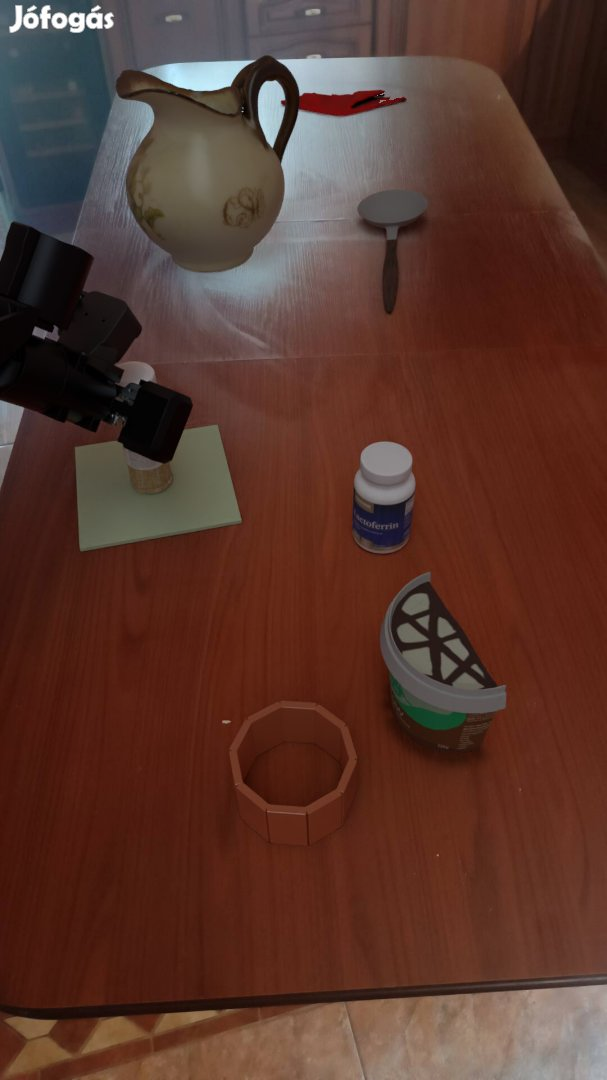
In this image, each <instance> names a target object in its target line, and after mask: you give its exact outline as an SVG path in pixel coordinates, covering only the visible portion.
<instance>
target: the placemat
mask: <svg viewBox="0 0 607 1080" xmlns="http://www.w3.org/2000/svg"><path fill="white" fill-rule="evenodd" d="M74 456H75V458H74V460H75V478H76V479H75V480H76V481H75V482H76V501H77V502H76V503H77V522H78V546H79V551H80V552H81V553H82V552H86V551H92V550H99V549H103V548H109V547H115V546H120V545H126V544H133V543H138V542H144V541H149V540H154V539H160V538H167V537H172V536H178V535H183V534H189V533H195V532H201V531H206V530H210V529H217V528H222V527H223V528H224V527H228V526H234V525H241V524H242V523H243V519H242V516H241V512H240V507H239V504H238V500H237V496H236V492H235V487H234V484H233V480H232V476H231V472H230V468H229V464H228V459H227V456H226V451H225V448H224V445H223V439H222V436H221V433H220V427H219V425H218V424H211V425H206V426H199V427H194V428H187V429H184V431H183V433H182V436H181V439H180V441H179V444H178V446H177V449H176V451H175V454H174V457H173V459H172V461H170V462H169V464H170V469H171V471H172V474H173V480H172V483H171V484H170V486H168V487H167V488H166V489H164V490H163V491H161V492H158V493H153V494H145V493H141V492H138V491H136V490H135V489H134V488H133V487H132V486H131V483H130V474H129V470H128V465H127V462H126V460H125V455H124V451H123V447H122V443H119V442H117V440H112V441H105V442H98V443H93V444H92V443H91V444H86V445H79V446H75V447H74Z"/></svg>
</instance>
